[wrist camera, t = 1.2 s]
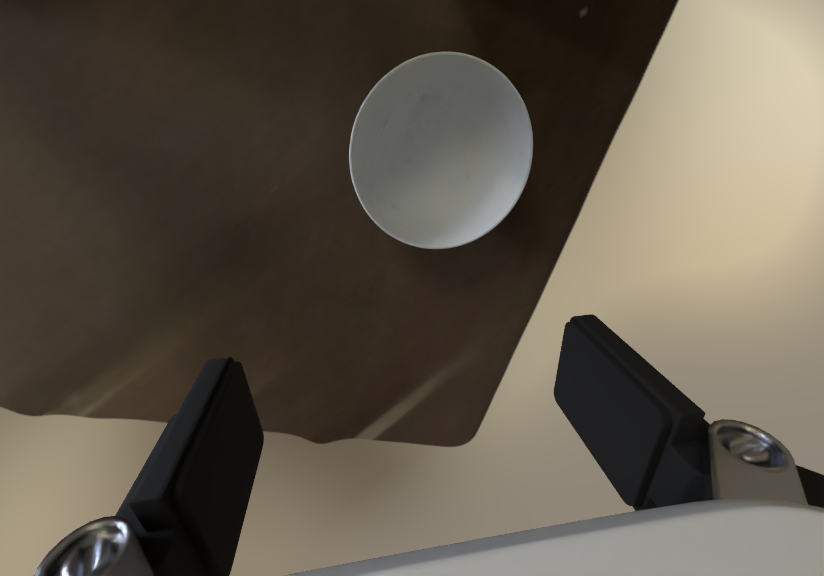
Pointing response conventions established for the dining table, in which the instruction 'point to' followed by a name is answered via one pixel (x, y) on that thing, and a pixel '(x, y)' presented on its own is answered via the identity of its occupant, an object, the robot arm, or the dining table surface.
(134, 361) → the dining table surface
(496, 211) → the chinaware
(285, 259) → the dining table surface
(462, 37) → the dining table surface
